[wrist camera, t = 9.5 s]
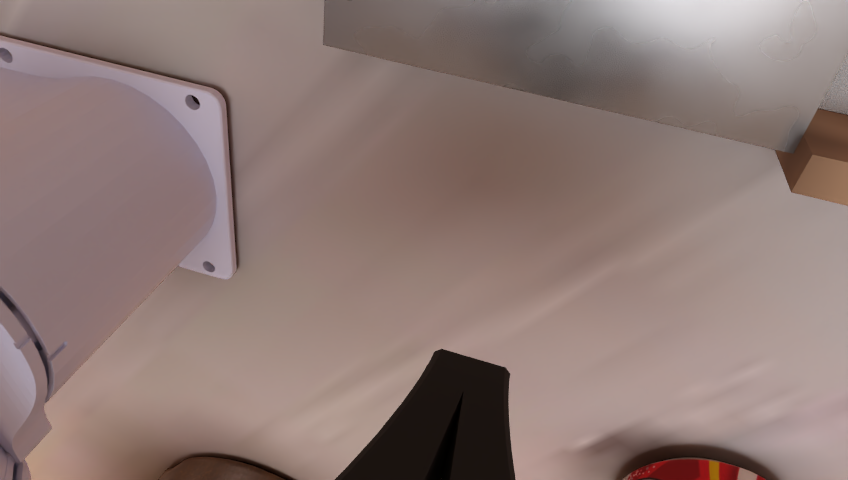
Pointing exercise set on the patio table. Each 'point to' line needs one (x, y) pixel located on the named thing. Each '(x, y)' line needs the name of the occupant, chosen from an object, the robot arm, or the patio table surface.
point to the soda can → (691, 470)
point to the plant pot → (216, 470)
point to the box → (820, 159)
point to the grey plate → (624, 54)
